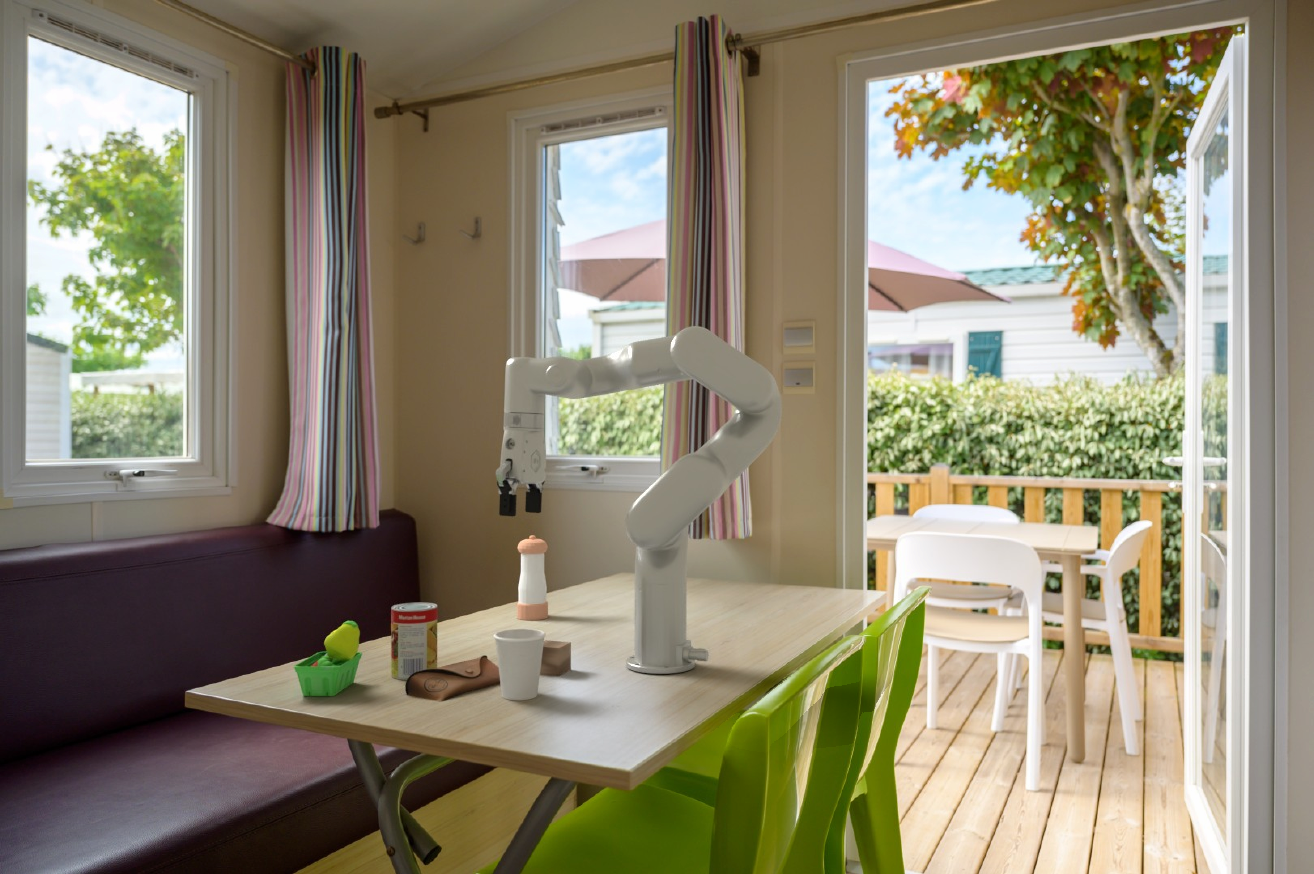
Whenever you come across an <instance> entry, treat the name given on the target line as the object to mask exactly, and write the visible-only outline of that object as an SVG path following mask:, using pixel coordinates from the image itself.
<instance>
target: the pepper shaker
mask: <svg viewBox="0 0 1314 874" xmlns="http://www.w3.org/2000/svg"><path fill="white" fill-rule="evenodd" d="M548 548H549V547H548V544H547V542H546V540H543V539H541V538H537V537H536V535H529V538H525V539H523V540H520V542H519V543H518V545H517V551H518V553H520V575H519V582H518V587H517V588H518V589H517V590H518V602H517V603H516V619H519V620H522V621H539V620H544V619H548V618H549V602H548V601H547V581H546V574H545V553H546V552H547V551H548ZM547 617H548V618H547Z"/></svg>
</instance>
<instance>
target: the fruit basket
mask: <svg viewBox="0 0 1314 874" xmlns="http://www.w3.org/2000/svg"><path fill="white" fill-rule="evenodd" d="M360 635H361V631H360V629H359V625H358V623H357V622H355V621H353V620H347V621H345V622H343V623H341V626H339V627H337V629H335V630H333V631H332V632H330V634H329V635H327V636H326V638H325V640H324V642H323V645H324V647H325V651H319V652H316V653H315V654H313V655H312V656H310V657H307V658H305V659H304V660H302V661H300V662H299V663H297V664H295V665H293V668H294V670H295V671H294V672H295V673H296V675H297V679H298V682H299V686H300V689H301V693H302V695H303V697H310V696H311V697H334V696H336V695H337V694H339V693H341V692H342V691H343V690H344V689H346V688H348V687H349V686H351V685H352V684H354V682H355V679H356V675H357V671H358V667H359V663H360V661H361V659H362V656H363V652H361V651H359V647H360Z"/></svg>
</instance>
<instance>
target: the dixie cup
mask: <svg viewBox="0 0 1314 874" xmlns="http://www.w3.org/2000/svg"><path fill="white" fill-rule="evenodd" d="M546 636H547V633H546V632H545V631H544V630H540V629H535V628H510V629H509V628H508V629H504V630H499V631H497V632H496V633H494V634H493V638H494V639H495V647H496V649H495V650H496V656H497V658H496V659H497V666H498V667H499V675H500V684H499V685H500V690H501V697H502V698H503V699H505V700H507V701H526V700H532V699H535V698H536V697H538V692H539V683H540V676H541V674H540V669H541V660H542V652H543V644H544V641H545V637H546Z"/></svg>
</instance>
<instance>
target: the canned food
mask: <svg viewBox="0 0 1314 874" xmlns="http://www.w3.org/2000/svg"><path fill="white" fill-rule="evenodd" d="M390 610H391V612H390V616H391V617H390V621H391V623H390V631H391V634H390V635H391V637H390V639H391V640H390V647H391V648H390V658H391V659H390V676H391V677H392V678H393V679H396V680H401V681H403V680H404V681H407V679H408V678H409V676H410V675H412V674H413V673H415V672H417V671H421V670H425V669H433V668H438V604H437V603H433V602H405V603H399V604H398V603H397V604H394V605H392V606H391V609H390Z"/></svg>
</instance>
